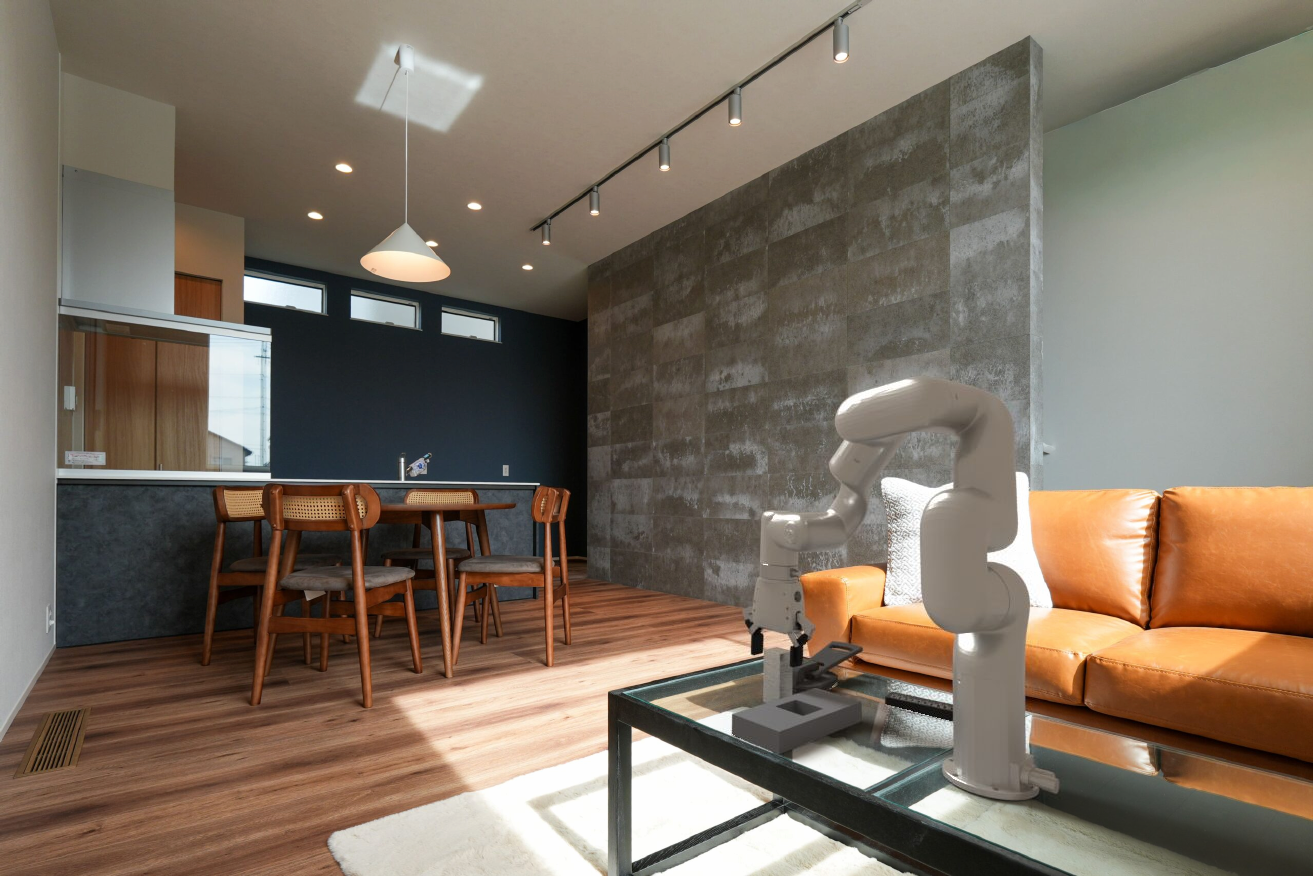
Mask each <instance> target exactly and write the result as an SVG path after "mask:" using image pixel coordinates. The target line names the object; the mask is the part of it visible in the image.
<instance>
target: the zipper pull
mask: <svg viewBox="0 0 1313 876" xmlns="http://www.w3.org/2000/svg"><path fill="white" fill-rule="evenodd" d="M862 652H864V647H862V646H860V645H857V644H855V643H854V644H853V643H850V642H849V643H848V642H845V641H844V642H843V641H834V640H832V641H830V642H829V643H828V644H826V645H825V646H824V647H822V648H821V649H820V650H819V651H818V652H816V653H815V654H814V655H812V656H811V657H809V659H807V660H805V661H803V662H802V665H801V666H798V667H794V668H793V670H792V695H794V694H798V693H801V692H804V691H807V690H810V689H814V688H818V689H821V690H824V691H828V692H830V690H829V689H830V688H832V686H833V685H834V684H835V683H836V682H837V681H838V682H839V675H838V674H837V673H835V672H833V671H831V670H832V669H833V668H835V667H836V666H839V665H840V664H842V663H844V662H846V661H848V660H850V659H851V658H852V657H855V656H856V655H858V654H860V653H862ZM820 666H821V667H820ZM832 689H833V688H832Z"/></svg>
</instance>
